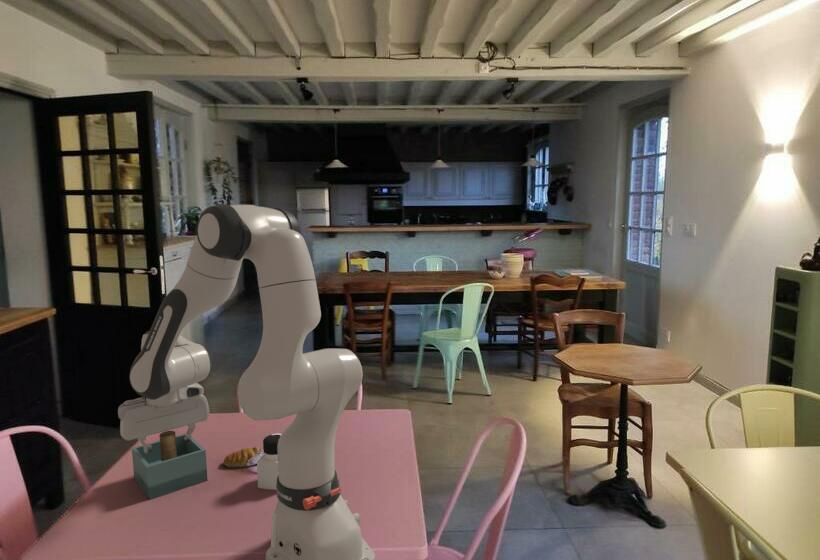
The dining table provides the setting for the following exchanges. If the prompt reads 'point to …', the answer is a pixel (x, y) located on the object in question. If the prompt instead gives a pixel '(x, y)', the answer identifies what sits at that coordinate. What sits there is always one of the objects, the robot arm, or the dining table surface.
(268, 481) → the medicine bottle
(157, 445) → the box
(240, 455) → the pastry
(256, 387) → the robot arm
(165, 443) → the peg
